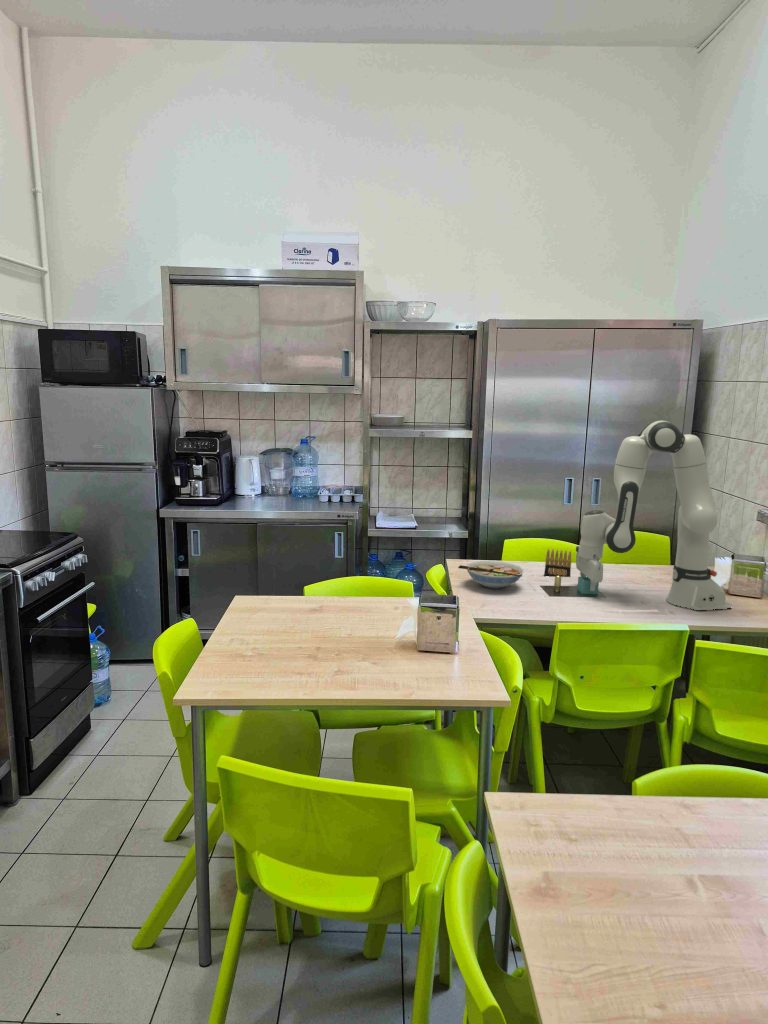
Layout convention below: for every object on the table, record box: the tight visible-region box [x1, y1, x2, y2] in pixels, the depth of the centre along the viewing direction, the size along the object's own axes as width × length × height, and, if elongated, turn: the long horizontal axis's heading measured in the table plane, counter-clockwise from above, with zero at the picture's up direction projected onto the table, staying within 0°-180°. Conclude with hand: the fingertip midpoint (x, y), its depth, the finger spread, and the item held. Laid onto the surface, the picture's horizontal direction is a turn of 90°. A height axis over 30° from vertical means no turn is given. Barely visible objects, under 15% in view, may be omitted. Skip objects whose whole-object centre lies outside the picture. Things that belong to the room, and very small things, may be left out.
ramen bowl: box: [457, 560, 525, 590], centre depth 269 cm, size 25×23×8 cm
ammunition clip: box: [543, 548, 572, 578], centre depth 284 cm, size 11×2×12 cm, turn 72°
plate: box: [539, 576, 607, 598], centre depth 263 cm, size 22×14×7 cm, turn 93°
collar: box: [576, 576, 600, 594], centre depth 263 cm, size 6×6×5 cm
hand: (587, 586), depth 263 cm, fingers open, 8 cm apart
